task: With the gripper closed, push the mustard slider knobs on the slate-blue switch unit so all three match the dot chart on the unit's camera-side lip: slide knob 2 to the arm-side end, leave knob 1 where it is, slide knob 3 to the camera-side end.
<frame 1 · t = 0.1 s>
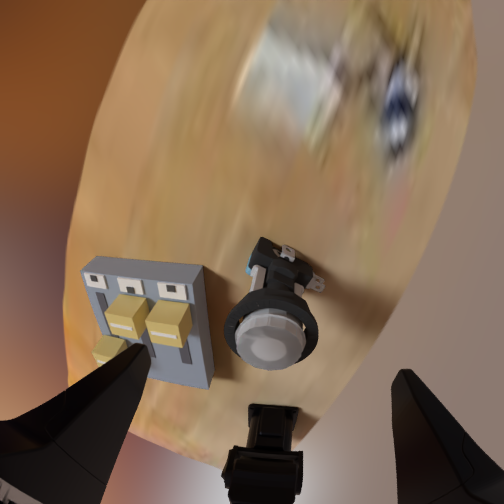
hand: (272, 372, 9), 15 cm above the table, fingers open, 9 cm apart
slider 2: (128, 316, 23), point 5 cm above the table, slide at 6.0 cm
slider 3: (111, 354, 26), point 5 cm above the table, slide at 0.0 cm
slider 1: (169, 323, 22), point 5 cm above the table, slide at 6.0 cm
switch unit: (156, 318, 29), on the table
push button: (287, 262, 24), on the table
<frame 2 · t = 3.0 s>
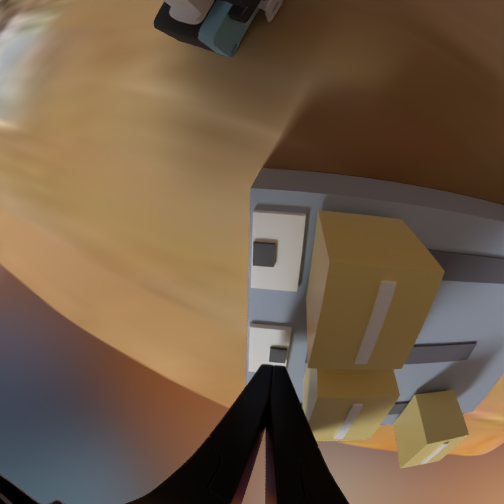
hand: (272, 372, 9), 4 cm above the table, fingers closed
slider 2: (344, 388, 8), point 5 cm above the table, slide at 5.5 cm, touching gripper
slider 3: (429, 430, 10), point 5 cm above the table, slide at 0.0 cm
slider 1: (362, 289, 7), point 5 cm above the table, slide at 6.0 cm
switch unit: (403, 308, 12), on the table
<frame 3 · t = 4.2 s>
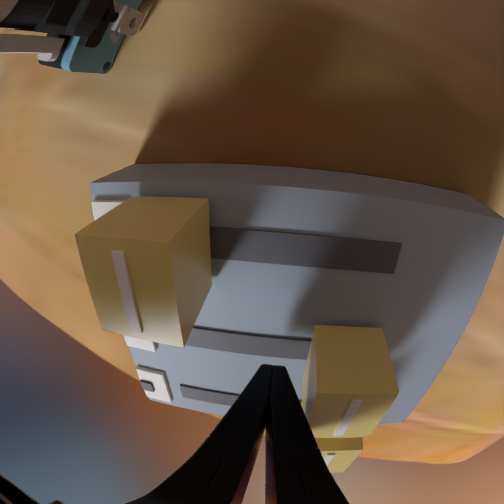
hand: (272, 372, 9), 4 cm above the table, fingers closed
slider 2: (343, 385, 8), point 5 cm above the table, slide at 0.2 cm, touching gripper
slider 3: (324, 436, 10), point 5 cm above the table, slide at 0.0 cm
slider 1: (152, 264, 7), point 5 cm above the table, slide at 6.0 cm
switch unit: (294, 299, 13), on the table
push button: (124, 10, 8), on the table
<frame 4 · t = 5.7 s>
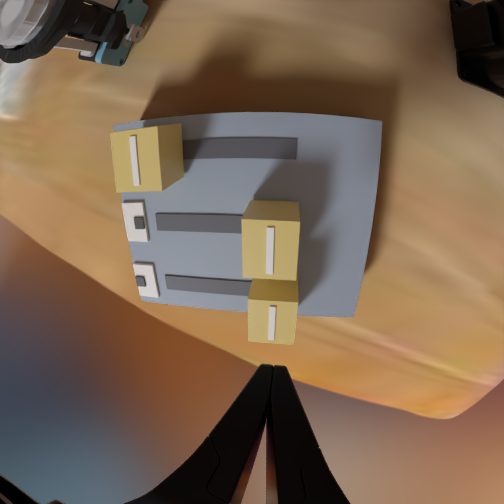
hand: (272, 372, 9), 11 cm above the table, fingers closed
slider 2: (272, 238, 14), point 5 cm above the table, slide at 0.2 cm
slider 3: (273, 307, 15), point 5 cm above the table, slide at 0.0 cm
slider 1: (148, 155, 12), point 5 cm above the table, slide at 6.0 cm
switch unit: (248, 206, 18), on the table
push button: (131, 26, 13), on the table
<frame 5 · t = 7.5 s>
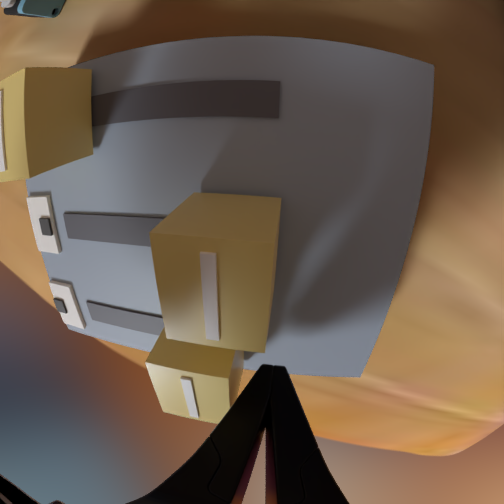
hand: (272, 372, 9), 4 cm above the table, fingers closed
slider 2: (225, 266, 7), point 5 cm above the table, slide at 0.2 cm
slider 3: (201, 366, 9), point 5 cm above the table, slide at 1.1 cm, touching gripper
slider 1: (34, 122, 6), point 5 cm above the table, slide at 6.0 cm
switch unit: (206, 203, 11), on the table
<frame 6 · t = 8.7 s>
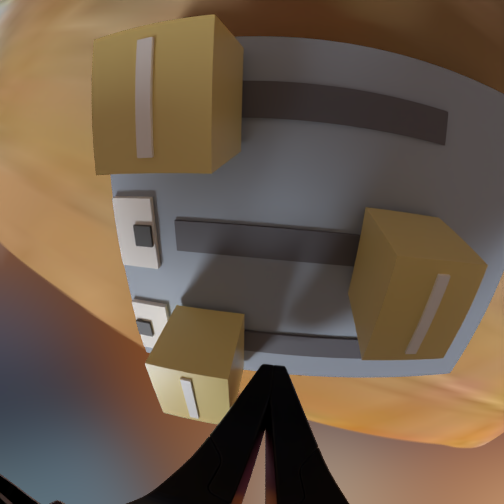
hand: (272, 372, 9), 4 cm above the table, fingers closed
slider 2: (409, 283, 7), point 5 cm above the table, slide at 0.2 cm
slider 3: (201, 367, 9), point 5 cm above the table, slide at 5.8 cm, touching gripper
slider 1: (174, 97, 5), point 5 cm above the table, slide at 6.0 cm
switch unit: (326, 213, 11), on the table
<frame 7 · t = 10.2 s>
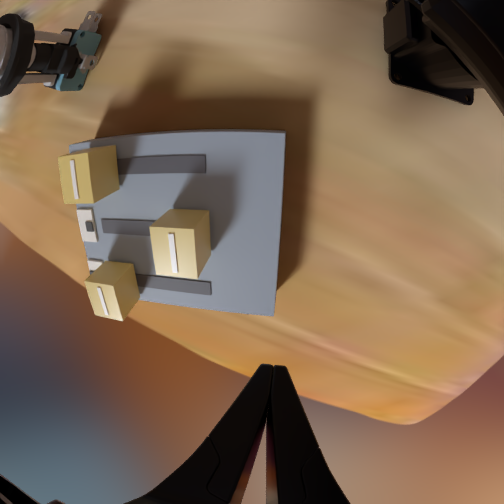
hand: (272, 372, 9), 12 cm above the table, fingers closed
slider 2: (182, 242, 16), point 5 cm above the table, slide at 0.2 cm
slider 3: (113, 290, 18), point 5 cm above the table, slide at 5.8 cm
slider 1: (88, 173, 14), point 5 cm above the table, slide at 6.0 cm
switch unit: (181, 212, 20), on the table
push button: (88, 53, 15), on the table
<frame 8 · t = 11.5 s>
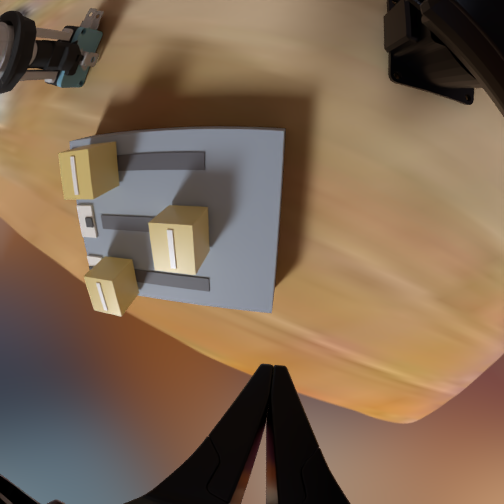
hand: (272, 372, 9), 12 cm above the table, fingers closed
slider 2: (181, 238, 16), point 5 cm above the table, slide at 0.2 cm
slider 3: (112, 285, 18), point 5 cm above the table, slide at 5.8 cm
slider 1: (89, 169, 14), point 5 cm above the table, slide at 6.0 cm
switch unit: (180, 209, 20), on the table
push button: (89, 50, 15), on the table
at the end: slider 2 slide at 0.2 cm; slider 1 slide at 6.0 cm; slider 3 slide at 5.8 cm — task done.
